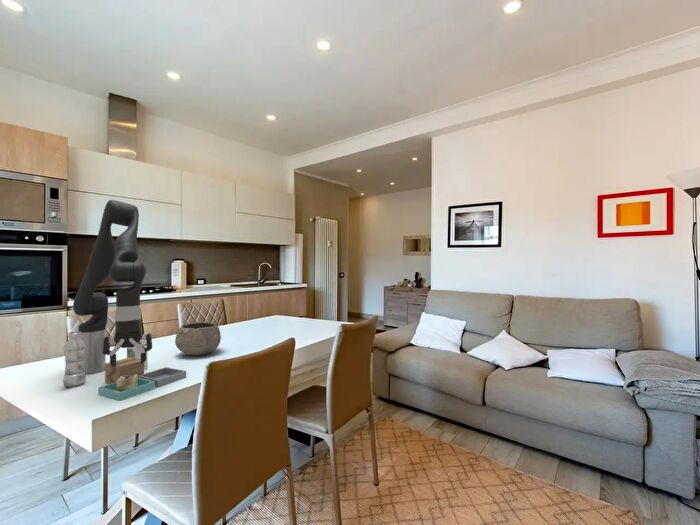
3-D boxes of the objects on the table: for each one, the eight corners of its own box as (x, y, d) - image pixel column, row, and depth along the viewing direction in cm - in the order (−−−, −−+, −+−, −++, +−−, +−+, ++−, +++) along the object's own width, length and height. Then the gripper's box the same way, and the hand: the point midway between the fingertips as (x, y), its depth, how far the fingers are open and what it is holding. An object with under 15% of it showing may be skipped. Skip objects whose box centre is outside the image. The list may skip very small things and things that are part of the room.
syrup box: (148, 368, 143) (148, 335, 143) (134, 372, 138) (134, 338, 138) (139, 367, 145) (140, 334, 146) (126, 370, 140) (126, 336, 140)
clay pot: (217, 347, 181) (217, 319, 181) (224, 355, 163) (224, 325, 163) (173, 352, 170) (174, 323, 170) (176, 362, 152) (176, 330, 152)
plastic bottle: (67, 390, 118) (67, 334, 118) (59, 387, 121) (60, 332, 122) (88, 385, 123) (89, 331, 124) (81, 381, 127) (81, 330, 127)
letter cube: (116, 395, 112) (116, 380, 112) (121, 390, 117) (121, 375, 117) (133, 393, 114) (133, 378, 114) (137, 388, 119) (137, 373, 119)
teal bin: (98, 396, 113) (98, 387, 113) (133, 384, 124) (133, 376, 124) (119, 402, 108) (119, 393, 108) (154, 389, 119) (154, 381, 119)
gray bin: (136, 383, 124) (136, 376, 124) (165, 374, 135) (165, 367, 135) (157, 388, 119) (157, 380, 119) (186, 378, 130) (186, 370, 130)
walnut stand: (104, 384, 124) (105, 363, 124) (129, 377, 132) (129, 357, 132) (119, 388, 120) (119, 366, 120) (144, 380, 128) (144, 360, 128)
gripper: (153, 315, 122) (153, 359, 122) (107, 318, 117) (107, 364, 117) (149, 318, 115) (149, 365, 115) (100, 321, 110) (100, 370, 110)
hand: (128, 364), depth 116 cm, fingers open, 8 cm apart
